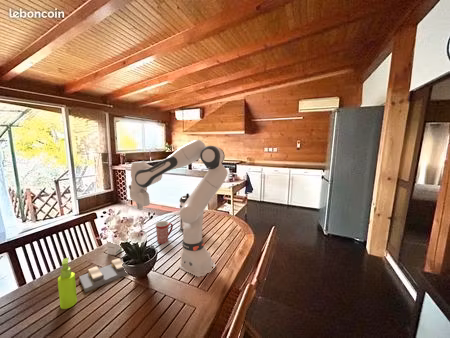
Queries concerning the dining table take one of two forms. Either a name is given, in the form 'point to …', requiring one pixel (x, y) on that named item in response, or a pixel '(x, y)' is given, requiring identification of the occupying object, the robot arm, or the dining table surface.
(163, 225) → the mug
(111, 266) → the board
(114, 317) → the dining table surface
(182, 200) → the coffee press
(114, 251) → the syrup box
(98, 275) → the latch
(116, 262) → the latch
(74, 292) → the soap dispenser
